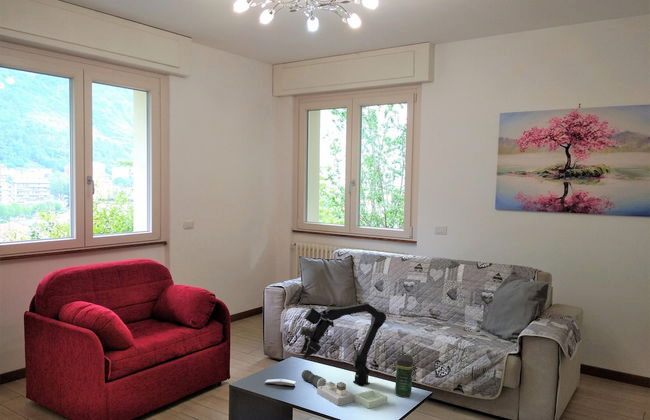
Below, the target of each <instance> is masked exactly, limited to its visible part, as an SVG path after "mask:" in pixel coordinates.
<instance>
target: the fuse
mask: <svg viewBox="0 0 650 420" xmlns="http://www.w3.org/2000/svg"><path fill="white" fill-rule="evenodd" d="M335 385H336V383H335V382H332V381H329V382H326V389H328V390H333V389H335Z"/></svg>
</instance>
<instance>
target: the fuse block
mask: <svg viewBox="0 0 650 420" xmlns="http://www.w3.org/2000/svg"><path fill="white" fill-rule="evenodd" d="M316 388H317V389H316V394H317V395H319V396H320V397H322V398H324V399H326V400H327V401H329V402H331V403H332V404H334V405H336V406H341V405H346V404H348V403H351V402H355V401H354V393H352V392H351V391H348V390H346V391H345V395H343V396H339V395H337V394H336V391H337V384H335V389H333V390H328V389H326V385H325V386H320V387H316Z"/></svg>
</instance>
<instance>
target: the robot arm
mask: <svg viewBox="0 0 650 420" xmlns="http://www.w3.org/2000/svg"><path fill="white" fill-rule="evenodd" d="M363 312H366V313H368V314H370V315H371V317H370V325H369V327H368V330H367V332H366V334H365V337H364V339H363V341H362V344H361V346H360V348H359V350H358V351H354V353H353V355H352V357H351V359H352V360H351V362H352V365H353V367H354V368H355V370H356V371H355V374H354V380H352V383H354V384H355V385H357V386H360V387H363V386H367V385H370V384H371V382H369V374H370V372H371V370H370V369H369V367H368V366H367V362H368V354H369V352H370V349H371V347H372V345H373V342H374V340H375V338H376V336H377V333H378V331H379V329H380V328H381V327H382V326H383V325H384V324H385V322H386V320H387V315H386V313H385V312H384V311H383V310H381V309H378V308H377V309H376V308H375V307H373V306H372V305H371V304H370V303H368V302H366V301H365V302H362V303H357V304H352V305H347V306H329V307H326V309H324V310H321V311H318V310H316V309H315V308H314V307H310V309H309V310H308V311H307V312H306V313H305V315H304V318H303V319H304V320H305V321H307V322H309V323H311V324H312V325H315V326H313V327H312V328H310V327H305V326H301V328H300V331H299V333H300V335H301V336H303V338H304V343H303V345H302V348H301V350H300V352H301V353H304V354H303V356H302V358H303V359H306V358H308V357H310V356H311V355H313V354H315V353H317V352H320V350H321V345H320V340H321V339H322V338H324V337H325V334H326V333H327V331H328V329H329V328H330V327H332V328H335V325H334V321H336V320H338V319H340V318H342V317H344V316H348V315H353V314H359V313H363Z"/></svg>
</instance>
